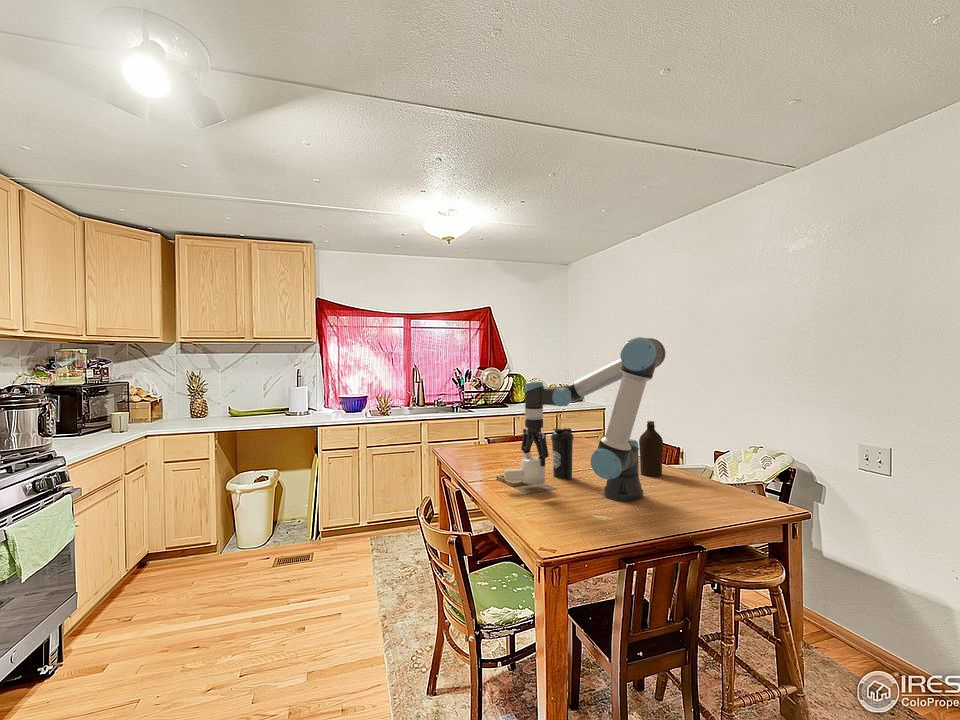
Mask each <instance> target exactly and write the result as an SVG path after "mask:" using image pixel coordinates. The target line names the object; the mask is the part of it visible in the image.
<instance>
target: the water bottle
mask: <svg viewBox="0 0 960 720" xmlns="http://www.w3.org/2000/svg"><path fill="white" fill-rule="evenodd" d="M550 440H551V447H552V448H551V451H552V452H551V453H552V454H551V456H552V472H553V475H552V476H553V477H554V478H556V479H565V480H567V481H571V480H572V479H573V451H574V450H573V449H574V448H573V446H574V444H573V443H574V435H573V433H572V428H570V427H564V428H553V432H552V433H551V435H550Z"/></svg>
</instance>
